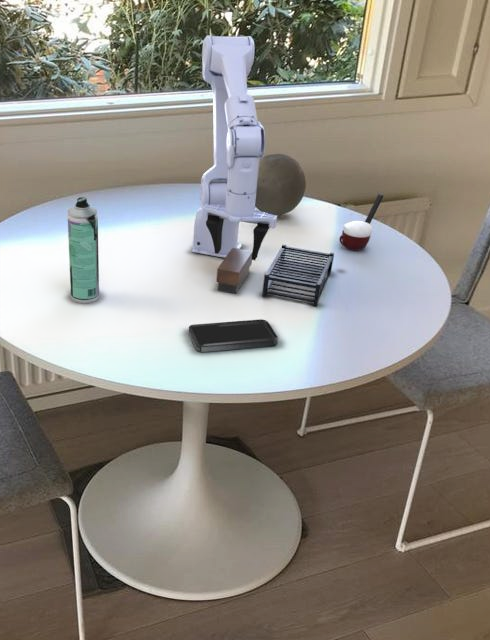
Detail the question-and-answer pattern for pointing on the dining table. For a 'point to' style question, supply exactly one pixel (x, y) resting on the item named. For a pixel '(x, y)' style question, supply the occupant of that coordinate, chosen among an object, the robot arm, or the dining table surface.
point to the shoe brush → (234, 270)
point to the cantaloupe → (279, 184)
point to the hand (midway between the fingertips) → (236, 254)
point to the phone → (232, 335)
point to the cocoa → (359, 230)
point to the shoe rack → (317, 284)
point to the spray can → (83, 252)
